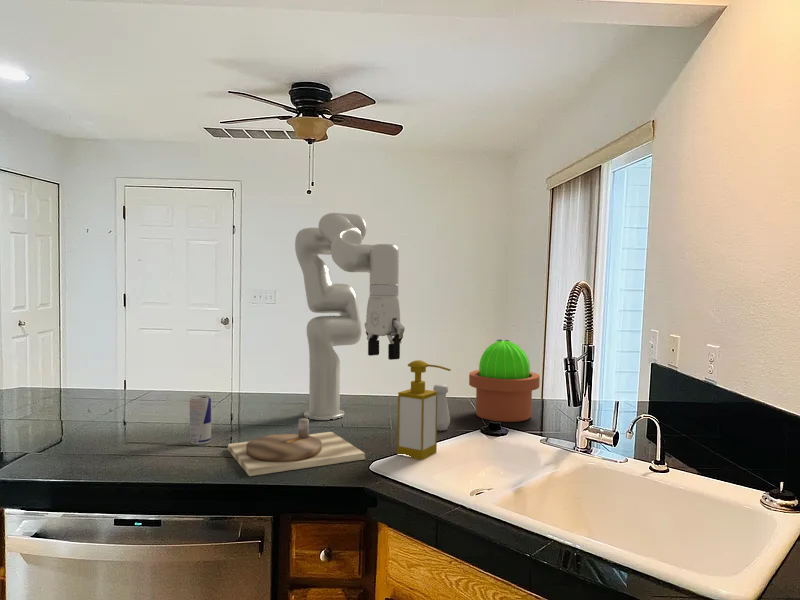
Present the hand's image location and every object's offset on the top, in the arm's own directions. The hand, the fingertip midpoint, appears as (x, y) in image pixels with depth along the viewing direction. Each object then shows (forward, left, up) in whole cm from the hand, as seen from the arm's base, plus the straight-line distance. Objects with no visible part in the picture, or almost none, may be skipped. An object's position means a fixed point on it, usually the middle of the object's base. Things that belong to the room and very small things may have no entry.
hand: (383, 357), depth 156 cm
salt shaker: (-8, +23, -24) cm, 34 cm away
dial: (-1, -26, -21) cm, 34 cm away
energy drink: (-23, -42, -24) cm, 54 cm away
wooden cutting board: (-2, -23, -23) cm, 33 cm away
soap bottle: (+13, +6, -24) cm, 27 cm away
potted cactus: (-13, +50, -24) cm, 57 cm away
